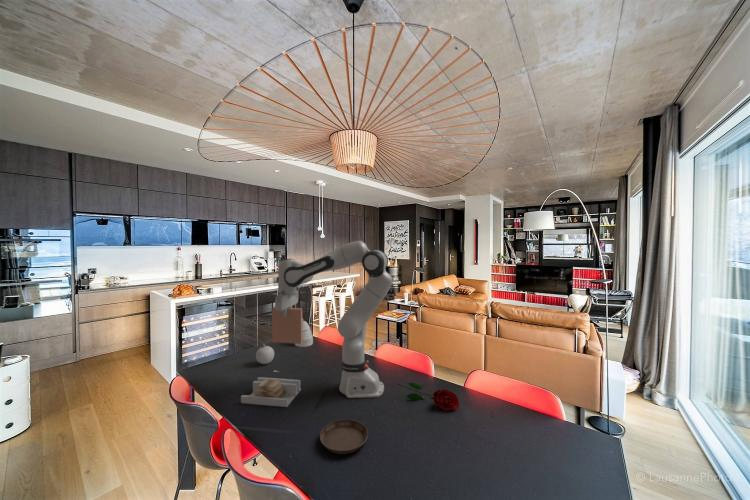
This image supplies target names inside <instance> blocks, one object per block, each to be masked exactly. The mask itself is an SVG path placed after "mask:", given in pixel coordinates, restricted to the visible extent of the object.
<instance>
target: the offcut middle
mask: <svg viewBox="0 0 750 500" xmlns="http://www.w3.org/2000/svg"><path fill="white" fill-rule="evenodd" d="M282 391H283V386H280V387H279V388H278V389H277V390H276V391H275V392H264V391H258V390H257V391H256V396H262V397H274V398H277V397H278V396H279V395H280V394H281V393H282Z"/></svg>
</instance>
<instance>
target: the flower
mask: <svg viewBox="0 0 750 500" xmlns="http://www.w3.org/2000/svg"><path fill="white" fill-rule="evenodd" d="M407 384H408V385H409V386H410V388H409V387H407V386H405V385H402V384H400V383H397V385H399V386H400V387H403V388H405V389H408V390H411V391H414V392H416V393H409V394H407V395H406V398H407V399H410V400H413V401H417V400H419V399H420V398H422V399H424V400H425V397H424V395H426V396H431V397H429V399H431V400H433V403H434V404H435V406H437V407H438V408H440V409H442V411H444V412H446V411H454V410H457V409H459V408H460V403H459V399H458V396H457V394H456V393H454V392H453V391H451V390H448V389H446V388H445V389H437V390H435V391H433V393H432V394H428V393H423V392H421V390H422V388H424V387H425V386H424V383H423V382H421V385H420V384H418V383H415V382H408V383H407ZM413 388H414V389H413ZM419 390H420V391H419ZM422 394H423V395H422Z"/></svg>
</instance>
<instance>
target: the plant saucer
mask: <svg viewBox="0 0 750 500" xmlns="http://www.w3.org/2000/svg"><path fill="white" fill-rule="evenodd" d="M368 437H369V431H368V429H367V427H366V426H365V425H364V424H363V423H362V422H360V421H357V420H354V419H338V420H335V421H332V422H330V423H328V424H326V425H325V426H324V427H323V428H322V429H321V431H320V433H319V439H320V440H319V441H320V442H321V444H322V445H323V447H324V448H325V449H327V450H328V451H329V452H330V453H333V454H336V455H349V454H352V453H354V452H356V451H358V450H359V449H360V448H362V446H363V445H364V444H365V443H366V442H367V439H368Z"/></svg>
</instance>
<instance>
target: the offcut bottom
mask: <svg viewBox="0 0 750 500" xmlns="http://www.w3.org/2000/svg"><path fill="white" fill-rule="evenodd" d="M255 396H256V395H255ZM261 397H262V396H261ZM284 397H285V391H282V393H281V394H280V395H279V396H278V397H277V398H284ZM273 398H274V397H273Z"/></svg>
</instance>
